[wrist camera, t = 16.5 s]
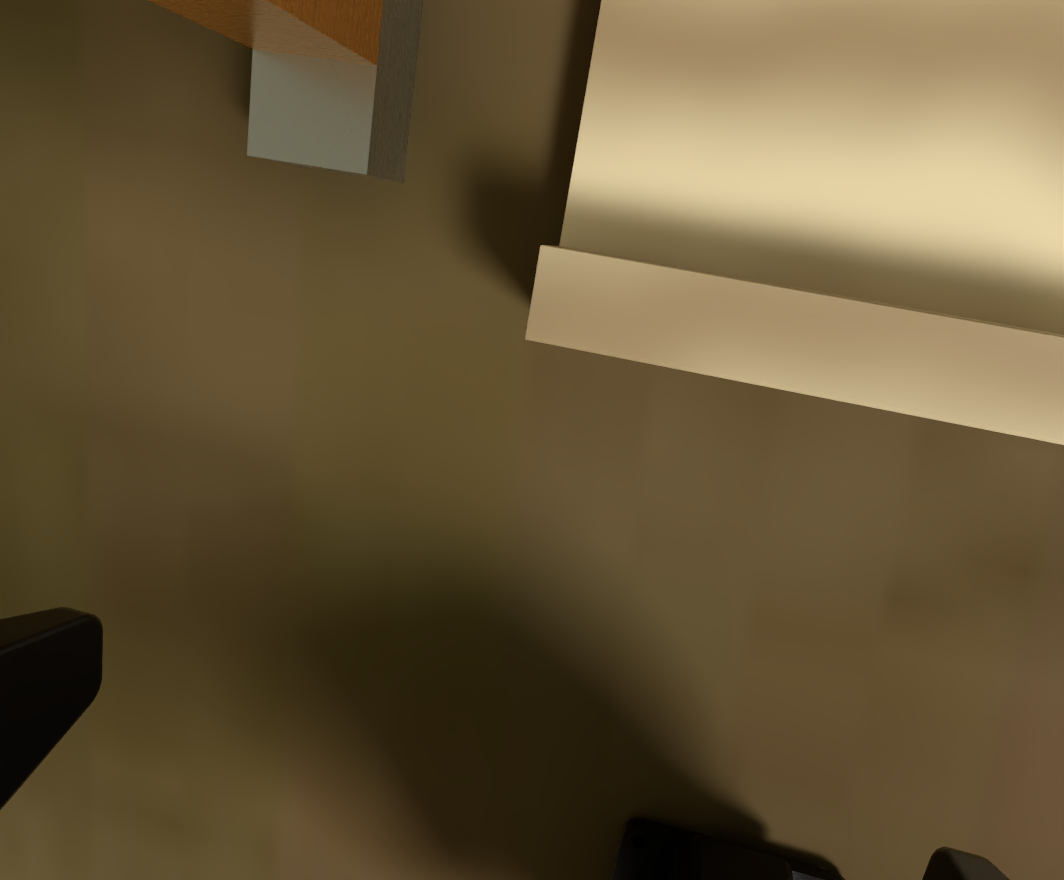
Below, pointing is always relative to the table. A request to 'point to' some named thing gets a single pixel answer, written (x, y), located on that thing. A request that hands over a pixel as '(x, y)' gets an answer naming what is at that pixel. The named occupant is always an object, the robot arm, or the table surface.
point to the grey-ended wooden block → (324, 78)
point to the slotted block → (825, 203)
